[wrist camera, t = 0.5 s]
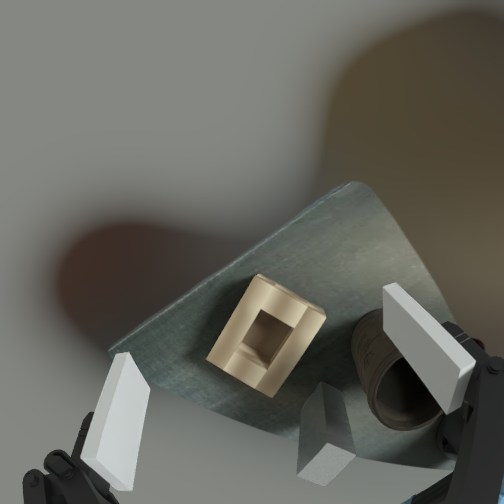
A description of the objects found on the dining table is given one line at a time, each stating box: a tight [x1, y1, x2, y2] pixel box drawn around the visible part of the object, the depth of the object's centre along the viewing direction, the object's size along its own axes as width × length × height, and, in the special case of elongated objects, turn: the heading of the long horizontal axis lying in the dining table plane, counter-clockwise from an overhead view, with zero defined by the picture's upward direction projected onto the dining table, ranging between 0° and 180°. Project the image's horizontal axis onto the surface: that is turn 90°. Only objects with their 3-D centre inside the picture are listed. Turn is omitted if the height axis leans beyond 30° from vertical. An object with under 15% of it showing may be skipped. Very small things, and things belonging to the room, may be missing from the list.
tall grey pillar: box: [297, 381, 356, 486], centre depth 36 cm, size 4×6×18 cm, turn 150°
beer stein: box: [351, 308, 468, 431], centre depth 34 cm, size 15×11×20 cm
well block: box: [206, 273, 326, 398], centre depth 44 cm, size 11×14×6 cm
